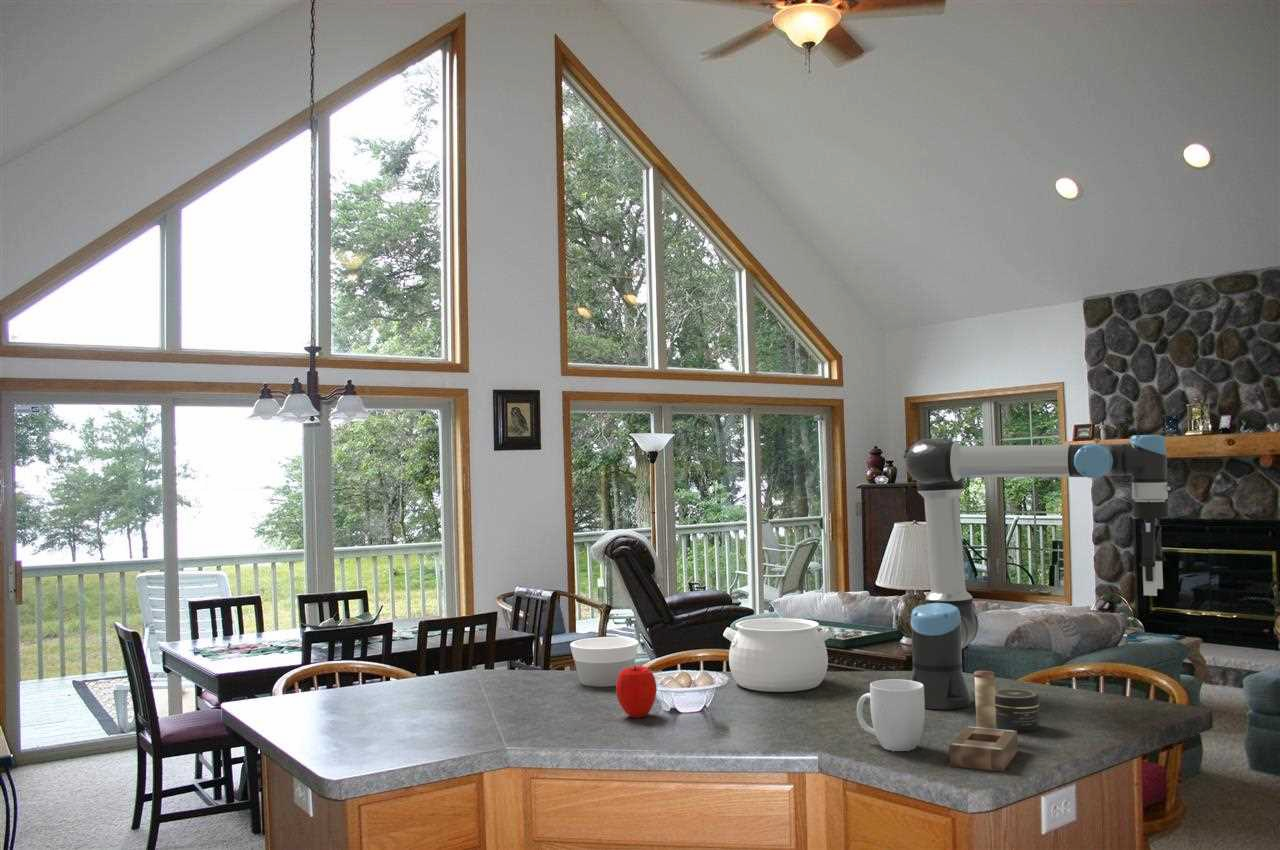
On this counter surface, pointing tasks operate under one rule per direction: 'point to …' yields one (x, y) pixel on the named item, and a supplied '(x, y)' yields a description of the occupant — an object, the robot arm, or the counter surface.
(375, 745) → the counter surface
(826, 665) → the pot
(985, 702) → the dowel
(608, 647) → the bowl
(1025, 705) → the jar
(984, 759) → the socket board
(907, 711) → the mug
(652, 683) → the apple
